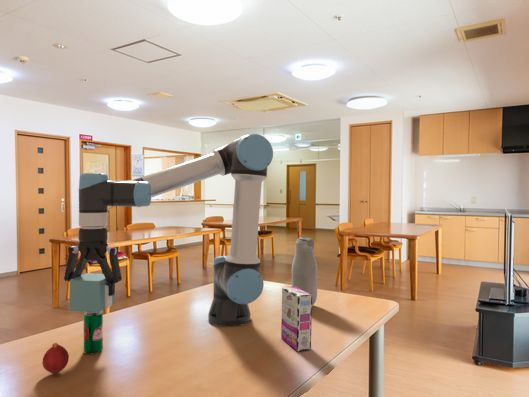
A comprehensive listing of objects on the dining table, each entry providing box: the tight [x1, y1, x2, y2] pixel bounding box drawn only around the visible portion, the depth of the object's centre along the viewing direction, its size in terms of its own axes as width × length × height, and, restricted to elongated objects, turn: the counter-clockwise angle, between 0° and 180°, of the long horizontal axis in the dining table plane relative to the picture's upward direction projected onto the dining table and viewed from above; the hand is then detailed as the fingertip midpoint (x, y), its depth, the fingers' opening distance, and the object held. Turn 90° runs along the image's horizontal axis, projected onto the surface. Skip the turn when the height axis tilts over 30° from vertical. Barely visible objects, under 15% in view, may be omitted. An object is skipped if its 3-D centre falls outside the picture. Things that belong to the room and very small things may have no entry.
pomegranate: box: [41, 342, 70, 376], centre depth 96 cm, size 6×6×8 cm
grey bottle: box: [291, 236, 319, 306], centre depth 154 cm, size 10×10×28 cm
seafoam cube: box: [69, 272, 116, 313], centre depth 110 cm, size 9×9×9 cm
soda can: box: [83, 310, 104, 355], centre depth 110 cm, size 5×5×12 cm
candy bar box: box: [280, 286, 313, 353], centre depth 117 cm, size 11×5×16 cm, turn 23°
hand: (92, 305), depth 110 cm, fingers closed on seafoam cube, 9 cm apart
